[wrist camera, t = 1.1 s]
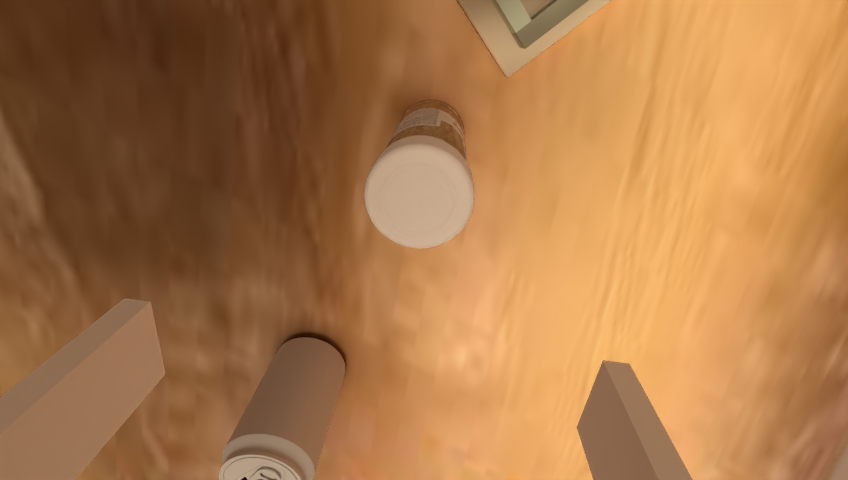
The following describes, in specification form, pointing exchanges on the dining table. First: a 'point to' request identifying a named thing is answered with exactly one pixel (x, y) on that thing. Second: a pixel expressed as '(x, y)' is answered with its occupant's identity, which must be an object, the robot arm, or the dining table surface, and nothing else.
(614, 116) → the dining table surface
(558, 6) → the board
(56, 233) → the dining table surface
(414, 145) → the sprinkles bottle
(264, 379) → the beverage can
